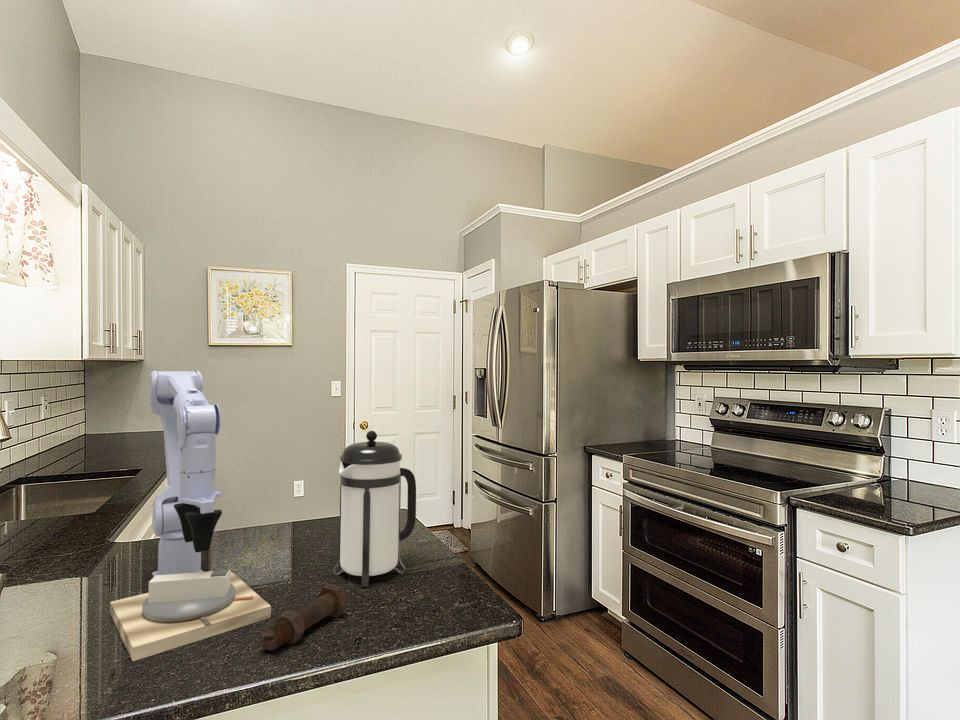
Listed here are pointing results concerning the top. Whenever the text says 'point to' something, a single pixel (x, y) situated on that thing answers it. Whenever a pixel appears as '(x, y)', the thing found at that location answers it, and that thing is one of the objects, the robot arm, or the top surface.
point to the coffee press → (372, 508)
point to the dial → (187, 595)
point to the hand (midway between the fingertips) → (196, 545)
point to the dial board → (184, 622)
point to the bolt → (305, 618)
